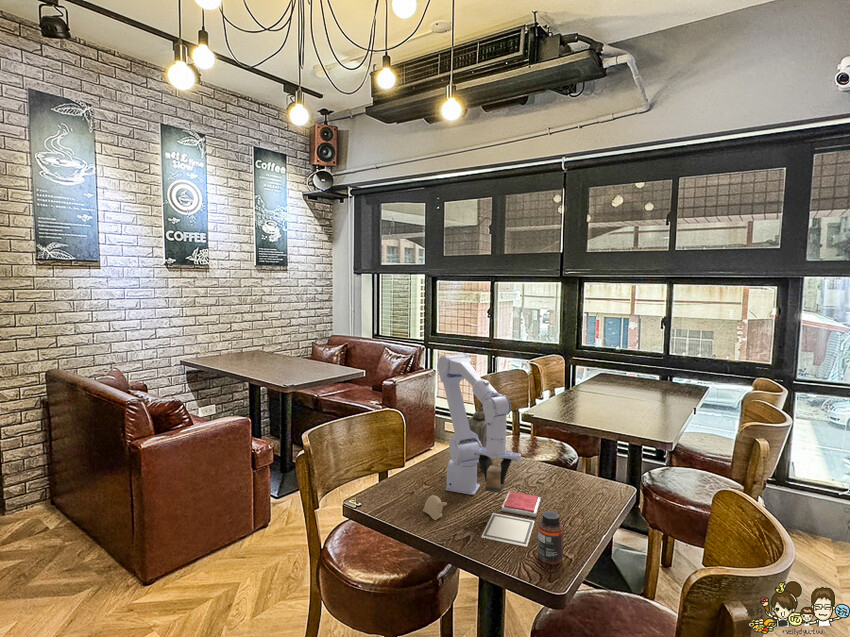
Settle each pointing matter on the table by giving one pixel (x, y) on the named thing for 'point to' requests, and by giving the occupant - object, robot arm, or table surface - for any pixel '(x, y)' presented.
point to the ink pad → (521, 504)
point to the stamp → (494, 480)
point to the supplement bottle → (550, 538)
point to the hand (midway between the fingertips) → (494, 481)
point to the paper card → (508, 529)
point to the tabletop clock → (479, 428)
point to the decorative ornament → (434, 507)
